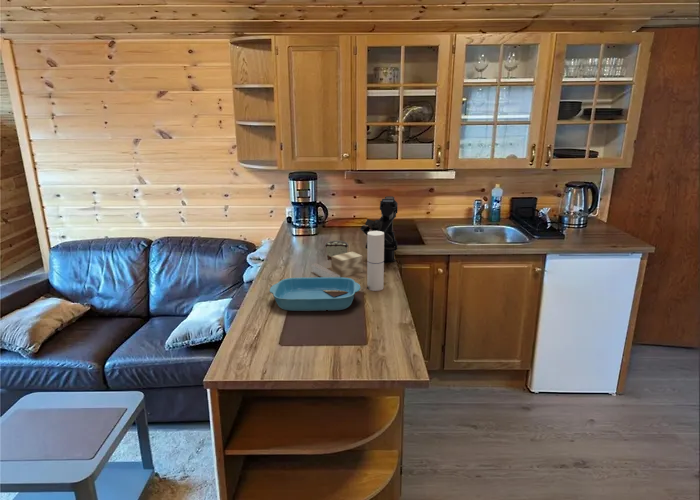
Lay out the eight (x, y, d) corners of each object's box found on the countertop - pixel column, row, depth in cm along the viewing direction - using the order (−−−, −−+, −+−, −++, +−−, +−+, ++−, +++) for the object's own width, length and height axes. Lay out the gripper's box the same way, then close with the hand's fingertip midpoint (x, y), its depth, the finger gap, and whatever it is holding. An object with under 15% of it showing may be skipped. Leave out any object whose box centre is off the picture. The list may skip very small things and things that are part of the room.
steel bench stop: (316, 271, 223) (315, 263, 222) (340, 283, 207) (339, 275, 206) (311, 272, 221) (311, 264, 220) (335, 285, 206) (335, 276, 205)
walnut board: (360, 262, 238) (360, 260, 237) (385, 274, 222) (385, 271, 222) (310, 275, 222) (310, 272, 221) (334, 288, 206) (334, 285, 206)
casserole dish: (266, 314, 183) (264, 297, 181) (275, 291, 204) (274, 276, 202) (360, 314, 182) (360, 297, 180) (360, 291, 203) (360, 276, 201)
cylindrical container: (364, 289, 205) (364, 234, 197) (371, 283, 211) (371, 230, 203) (379, 291, 202) (380, 236, 194) (386, 286, 208) (386, 232, 200)
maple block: (352, 267, 228) (352, 251, 225) (362, 271, 221) (362, 255, 219) (332, 272, 221) (331, 256, 218) (341, 277, 215) (341, 260, 212)
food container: (350, 258, 244) (349, 240, 241) (348, 262, 238) (348, 243, 235) (326, 258, 245) (326, 239, 242) (324, 262, 239) (324, 243, 236)
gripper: (363, 209, 229) (345, 234, 227) (388, 216, 215) (369, 244, 212) (375, 222, 236) (358, 247, 233) (400, 230, 222) (382, 257, 219)
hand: (366, 248), depth 224 cm, fingers closed
